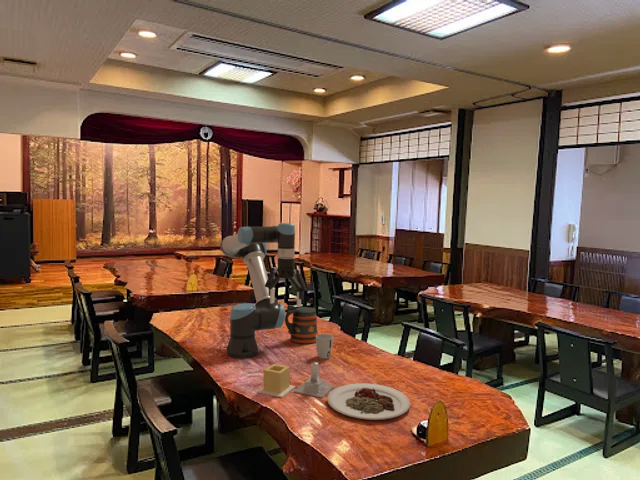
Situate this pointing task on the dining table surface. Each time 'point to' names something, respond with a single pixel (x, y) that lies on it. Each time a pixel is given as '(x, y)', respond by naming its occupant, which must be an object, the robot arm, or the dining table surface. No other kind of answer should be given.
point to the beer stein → (302, 324)
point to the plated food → (368, 401)
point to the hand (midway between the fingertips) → (285, 304)
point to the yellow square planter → (276, 378)
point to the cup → (324, 345)
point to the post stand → (314, 384)
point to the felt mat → (277, 393)
